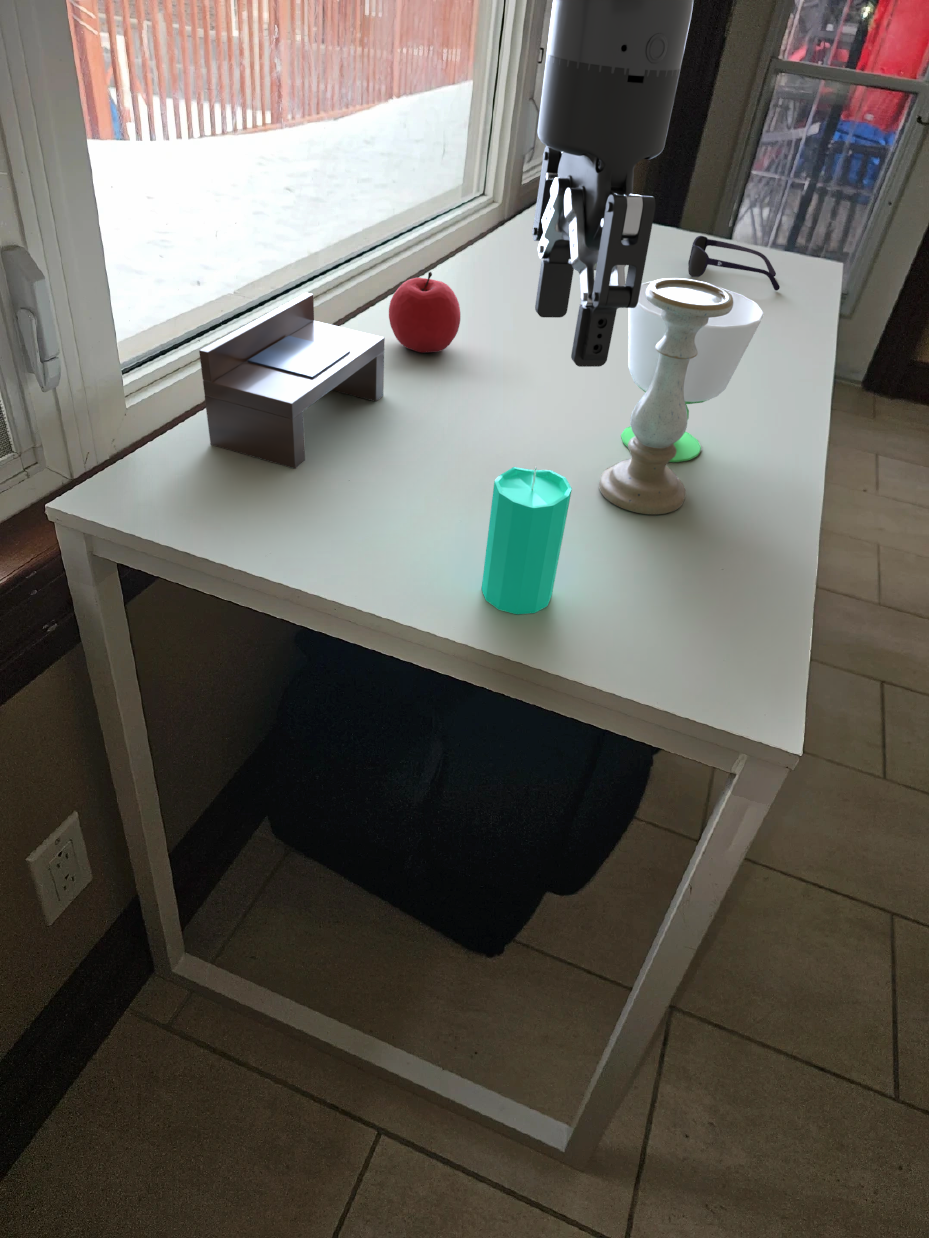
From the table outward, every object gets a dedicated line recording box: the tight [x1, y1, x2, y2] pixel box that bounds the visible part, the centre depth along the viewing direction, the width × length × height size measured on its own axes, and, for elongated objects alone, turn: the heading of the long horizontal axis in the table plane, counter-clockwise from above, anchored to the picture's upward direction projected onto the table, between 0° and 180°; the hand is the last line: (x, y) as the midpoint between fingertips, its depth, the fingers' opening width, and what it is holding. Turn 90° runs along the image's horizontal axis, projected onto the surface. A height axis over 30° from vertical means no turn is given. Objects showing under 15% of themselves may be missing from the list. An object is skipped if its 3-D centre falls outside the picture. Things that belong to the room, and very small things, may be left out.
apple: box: [388, 271, 461, 354], centre depth 108 cm, size 9×9×10 cm
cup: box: [620, 280, 765, 463], centre depth 90 cm, size 14×14×16 cm
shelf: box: [198, 292, 385, 469], centre depth 89 cm, size 20×10×10 cm, turn 158°
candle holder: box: [598, 277, 733, 515], centre depth 79 cm, size 9×9×20 cm
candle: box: [481, 466, 573, 615], centre depth 67 cm, size 6×6×12 cm
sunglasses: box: [687, 235, 781, 291], centre depth 145 cm, size 14×16×5 cm
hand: (568, 339), depth 57 cm, fingers open, 8 cm apart
